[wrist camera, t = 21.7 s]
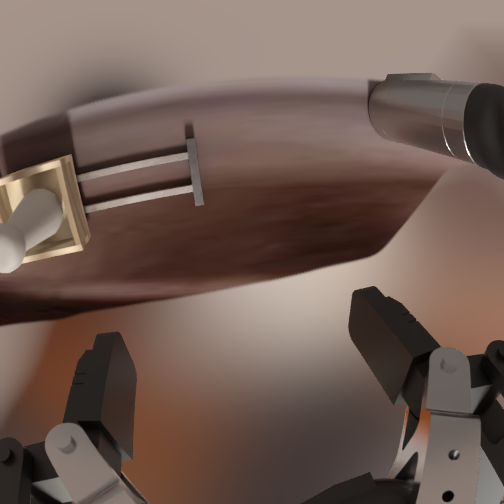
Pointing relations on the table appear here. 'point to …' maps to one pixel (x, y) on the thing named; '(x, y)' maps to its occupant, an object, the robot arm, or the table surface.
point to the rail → (193, 187)
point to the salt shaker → (28, 227)
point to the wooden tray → (66, 188)
